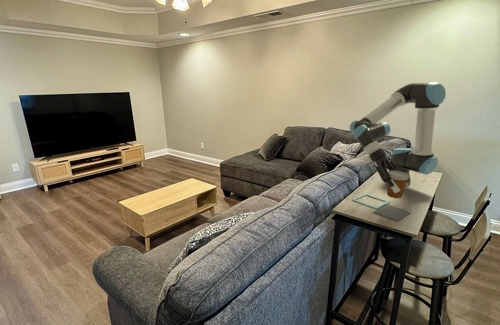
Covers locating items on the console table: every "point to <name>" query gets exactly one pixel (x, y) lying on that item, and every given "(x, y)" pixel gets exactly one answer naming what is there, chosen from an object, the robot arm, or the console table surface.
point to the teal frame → (372, 197)
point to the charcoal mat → (392, 212)
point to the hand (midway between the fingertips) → (402, 189)
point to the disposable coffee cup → (397, 183)
